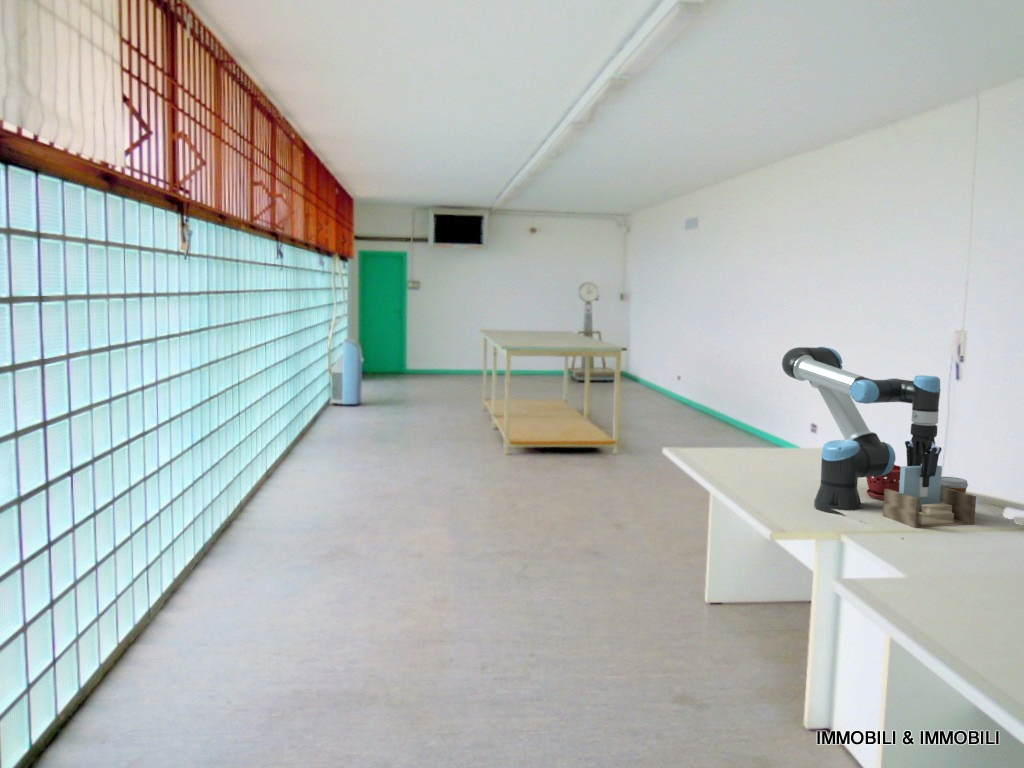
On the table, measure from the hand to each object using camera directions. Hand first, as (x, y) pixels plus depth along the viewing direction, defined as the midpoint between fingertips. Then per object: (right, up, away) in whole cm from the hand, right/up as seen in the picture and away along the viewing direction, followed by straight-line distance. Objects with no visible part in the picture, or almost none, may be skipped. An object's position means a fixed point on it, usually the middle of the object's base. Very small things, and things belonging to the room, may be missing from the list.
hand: (919, 495), depth 245 cm
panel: (0, -7, +1) cm, 6 cm away
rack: (+1, -9, -3) cm, 10 cm away
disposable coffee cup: (+16, -8, +11) cm, 21 cm away
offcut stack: (+1, -8, -6) cm, 10 cm away
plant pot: (+5, -6, +32) cm, 33 cm away
